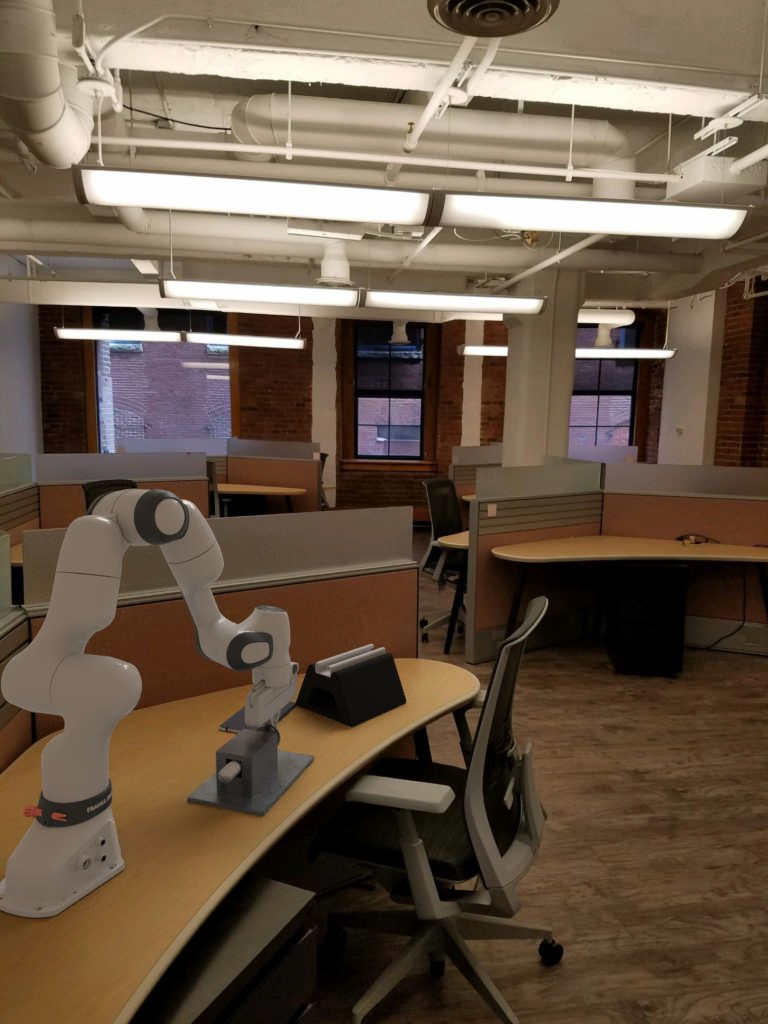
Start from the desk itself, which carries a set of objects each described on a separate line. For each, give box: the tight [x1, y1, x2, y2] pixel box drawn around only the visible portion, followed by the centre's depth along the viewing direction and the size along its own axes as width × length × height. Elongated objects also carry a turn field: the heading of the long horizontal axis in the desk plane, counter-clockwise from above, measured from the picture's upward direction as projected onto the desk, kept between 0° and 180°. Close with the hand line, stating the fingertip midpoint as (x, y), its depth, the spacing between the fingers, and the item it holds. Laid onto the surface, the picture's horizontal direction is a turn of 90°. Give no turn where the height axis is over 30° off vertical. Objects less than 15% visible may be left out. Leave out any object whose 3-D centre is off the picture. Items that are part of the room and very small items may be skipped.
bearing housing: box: [186, 729, 315, 817], centre depth 159 cm, size 26×18×10 cm
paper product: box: [219, 701, 297, 734], centre depth 194 cm, size 13×2×21 cm
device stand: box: [295, 643, 407, 728], centre depth 203 cm, size 22×22×15 cm
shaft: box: [218, 724, 281, 784], centre depth 156 cm, size 20×6×6 cm, turn 162°
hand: (271, 730), depth 167 cm, fingers closed
